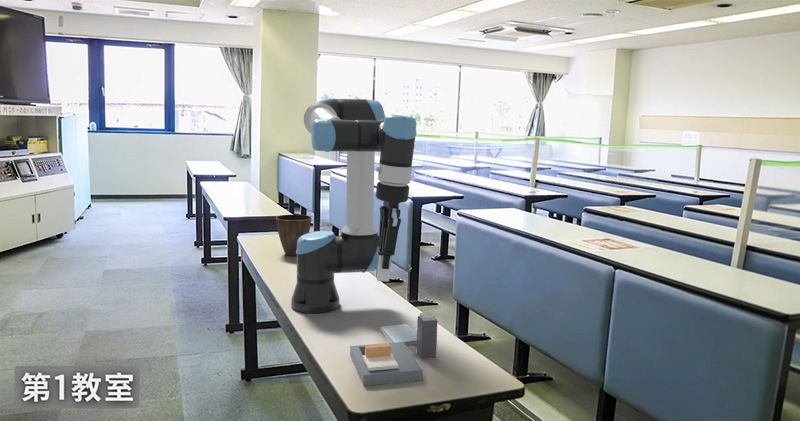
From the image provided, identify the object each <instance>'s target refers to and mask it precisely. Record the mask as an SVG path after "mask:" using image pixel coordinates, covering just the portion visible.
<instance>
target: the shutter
mask: <svg viewBox="0 0 800 421" xmlns="http://www.w3.org/2000/svg"><path fill="white" fill-rule="evenodd" d="M379 344H380V345H370V344H367V345H368V346H365V355H363V360H364V362H365V364H366V366H367V368H368V370H369V371H374V370H385V369H397V368H398V363H397V362H396V360H395V358H394V357H393V355H392V354H391V346H390V344H383V343H379Z"/></svg>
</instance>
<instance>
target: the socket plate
mask: <svg viewBox="0 0 800 421" xmlns="http://www.w3.org/2000/svg"><path fill="white" fill-rule="evenodd" d="M380 344H381V343H372V344H361V345H358V344H357V345H349V356H350V358H351V360H352V362H353V365H354V368H355V370H356V372H357V374H358V376H359V380H360V381H361V384H362V386H373V385H383V384H384V385H385V384H394V383H404V382H405V383H406V382H413V381H414V382H415V381H416V382H417V381H423V373H424V372H423V368H422V367H421V365H420V363H419V362H418V361H417V359H416V358H415V357H414V355H413V354H412V352H411V351H410V349H409V348H408V345H405V343H404V342H396V343H391V342H386V343H382V344H390V346H391V354H392V355H393V357H394V358H395V360H396V362H397V363H398V368H397V369H385V370H374V371H369V370H368V368H367V366H366V364H365V362H364V360H363V355H365V346H368V345H380Z"/></svg>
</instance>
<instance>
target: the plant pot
mask: <svg viewBox="0 0 800 421" xmlns="http://www.w3.org/2000/svg"><path fill="white" fill-rule="evenodd" d="M275 220H276V221H275V222H276V227H277V231H278V232H277V233H278V236H279V240H280V243H281V247H282V250H283V252H284V255H286V256H290V257H297V254H296V250H297V241H298V239H299V238H300V237H301V236H302V235H305V234H307V233H310V230H311V225H312V224H311V223H312V216H310V215H305V214H283V215H281V214H280V215H278V216H276V217H275Z"/></svg>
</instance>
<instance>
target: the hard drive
mask: <svg viewBox="0 0 800 421" xmlns="http://www.w3.org/2000/svg"><path fill="white" fill-rule="evenodd" d="M380 331H381V332H382V333H383V335H384V336H385V337H386V338H387V339H388V341H389V343H396V342H404V343H405V345H406V346H411V345H417V332H416V331H415V330H414V329H413V328H412V327H411V326H409V325H408V324H406V323H404V324H396V325H395V324H394V325H393V324H392V325H386V326H380Z"/></svg>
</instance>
